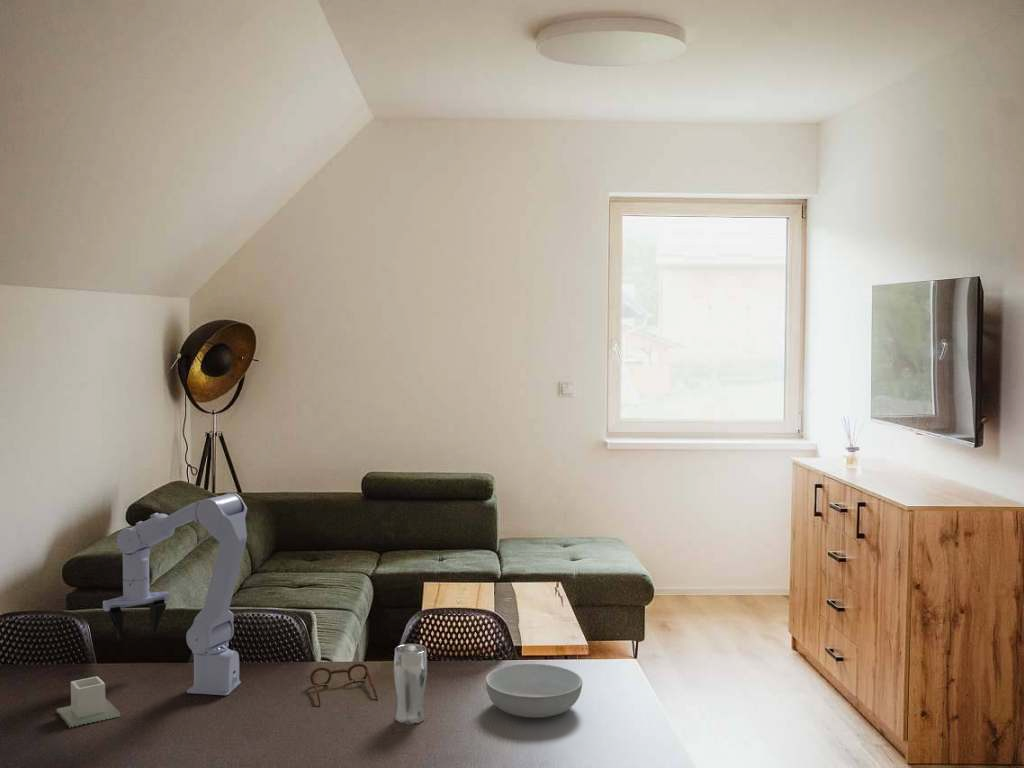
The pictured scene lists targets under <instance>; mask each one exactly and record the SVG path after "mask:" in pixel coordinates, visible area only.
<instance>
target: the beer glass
mask: <svg viewBox="0 0 1024 768" xmlns="http://www.w3.org/2000/svg"><path fill="white" fill-rule="evenodd" d="M393 677H394V685H395V692H396V698H397V709H396V714H395V721H396V720H397V721H399V722H401V723H408V724H407V725H409V724H410V725H413V724H412V723H417V722H420V723H422V722H424V721H425V719H426V715H425V710H424V695H425V690H426V685H427V678H428V656H427V647H426V646H425V645H422V644H418V643H405V644H400V645H398V646H396V647H395V648H394V659H393ZM423 720H424V721H423ZM397 721H396V722H397ZM421 721H422V722H421ZM399 722H398V723H399ZM401 723H400V724H401Z"/></svg>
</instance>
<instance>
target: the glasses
mask: <svg viewBox="0 0 1024 768" xmlns="http://www.w3.org/2000/svg"><path fill="white" fill-rule="evenodd" d="M357 667H358V668H359V667H362V668H363V669H364V670H365V672H364V673H365V674H364V676H362V678H360V679H361V680H362V679H365V680H366V679H367V678H368V681H369V683H370V686H371V688H372V691H373V694H374V698H375V697H376V698H378V694H377V692H376V688H375V685H374V683H373V680H372V677H371V675H370V674H371V673H370V672H369V669H368V666H367V665H365V664H364V663H355V664H352V665H351V666H350V667H348V669H346V668H345V669H344V668H343V669H334V670H332V671H331V670H330V669H329V668H328V667H323V666H321V667H317V668H315V669H313V670H312V671H311V673H310V683H311V684H312V685H313V687H314V691H315V692H316V695H317V701H318V706H319V705H321V706H322V703H321V699H320V694H319V690H318V686H316V685H319V684H320V683H316V680H315V674H316V673H317V672H319V671H325V672H327V673H328V678H327V680H326V681H325V682H322V683H321V684H327V683H328V684H329V683H330V682H331V679H332V675H335V674H340V673H341V674H342V673H347V678H348V681H350V682H351V680H353V681H354V680H355V679H353V678H352V677H351V672H352V670H354V668H357ZM328 684H327V685H328ZM376 698H375V699H376ZM378 699H379V698H378Z"/></svg>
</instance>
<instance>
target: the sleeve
mask: <svg viewBox="0 0 1024 768" xmlns="http://www.w3.org/2000/svg"><path fill="white" fill-rule="evenodd" d="M105 698H106V683H105V682H104V681H103V680H102V679H101V678H100V677H99V676H92V677H91V676H90V677H88V678H80V679H78V680H77V679H75V680H72V681H70V706H71V710H72V711H73V712H74V713H75V714H76V716H77V717H78V718H80V717H84V716H89V715H93V714H98V713H102V712H106V706H105Z"/></svg>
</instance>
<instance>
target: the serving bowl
mask: <svg viewBox="0 0 1024 768" xmlns="http://www.w3.org/2000/svg"><path fill="white" fill-rule="evenodd" d="M485 687H486V692H487V695H488V696H489V699H490V701H492V703H493V705H495V706H496V707H497V708H498V709H500V710H502V711H503V712H506V713H508V714H510V715H513V716H517V717H524V718H530V717H533V718H538V717H539V718H548V717H552V716H557V715H560V714H562V713H564V712H566V711H568V710H569V709H571V707H573V706H574V705H575V704H576V702H577V701H578V699H579V698H580V695H581V692H582V688H583V678H582V677H581V676H580V675H579V674H578V673H577V672H575V671H572V670H570V669H569V668H564V667H562V666H557V665H551V664H543V663H519V664H511V665H506V666H501V667H497V668H496V669H493V670H491V671H490V672H488V674H487V675H486V677H485ZM533 718H532V719H533ZM539 718H538V719H539Z"/></svg>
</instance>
